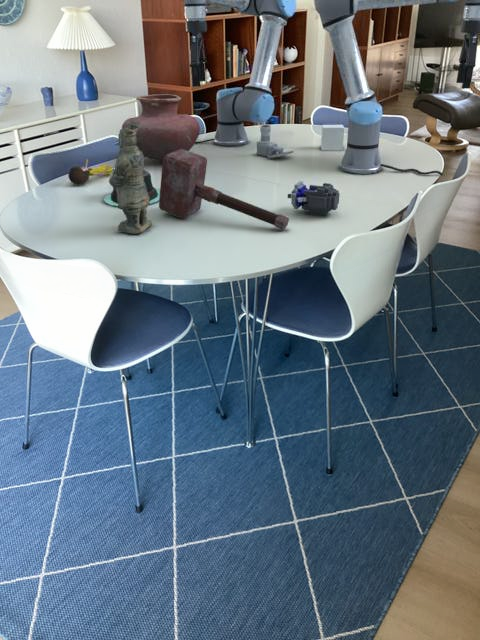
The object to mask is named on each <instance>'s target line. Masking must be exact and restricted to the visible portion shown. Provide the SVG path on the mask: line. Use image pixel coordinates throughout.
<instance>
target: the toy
mask: <svg viewBox="0 0 480 640" xmlns="http://www.w3.org/2000/svg"><path fill="white" fill-rule="evenodd" d="M293 187H294V188H293V189H292V191H291V193H288V194H287V199H291V200H290V201H291V202H290V203H291V206H292V207H293V210H298V209H299V208H301V210H303V211H306V212H307V214H310V215H311V214H312V215H318V216H326V215H328V213H330V212H331V211H336V210H337V209H338V205H339V204H340V194H341V193H340V190H338V189H337V188H335V187H334V184H332V183H328V182H324V183H322V185H315V184H310V185H309V186H308V187H309V188H308V187H307V185H306V184H305V183H304V181H301V180H299V181H298V182H296V183H295V184H294V186H293Z"/></svg>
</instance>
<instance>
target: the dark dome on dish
mask: <svg viewBox="0 0 480 640" xmlns="http://www.w3.org/2000/svg"><path fill="white" fill-rule="evenodd" d="M113 175H114V171H112V172H111V176H113ZM143 178H144V182H145V184H146V188H147V192H148V195H149V197H150V204H154V203H157V202H159V198H160V188H156V187H154V185H153V182H152V174H151V172H149V171H148V170H146V169H144V168H143ZM103 200H104V202H105V203H106V204H108V205H109V206H115V207H118V202H117V192H116V189H115V188H114V187H112V191H111V193H108V194H107V195H106V196H104V198H103ZM150 204H149V205H150Z"/></svg>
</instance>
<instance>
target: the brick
mask: <svg viewBox="0 0 480 640" xmlns="http://www.w3.org/2000/svg"><path fill="white" fill-rule="evenodd" d="M344 135H345V126H344V124H322V125H321V139H320V149H321V151H343V149H344Z"/></svg>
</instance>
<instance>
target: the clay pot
mask: <svg viewBox="0 0 480 640" xmlns="http://www.w3.org/2000/svg"><path fill="white" fill-rule="evenodd" d="M135 100H136V101H139V102H140V105H141V113H140V115H138V116H134V117H129V118H127V119H125V121H123V123H122V125H121V129H123V128H124V127H125V126H126V125H127V124H128V123H131V122H133V121H137V122H138V123H139V127H138V130H137V131H136V138H137V143H136V146H137V147H138V149H139V150H141V151H142V153H143V156H144V159H148V160H151V161H155V162H161V163H163V158H164V156H165V155H167V154H170V153H172V152H174V151H177V150H179V149H184V150H187V151H190V150H192V149H193V147H194V145H196V143H195V142H197V141H198V138H199V136H200V131H201V126H200V123H199V121H198V120H197V119H196V118H195V117H194V116H192V115H190V114H186V113H185V114H182V113H181V114H180V113H178V108H179V103H180V101H182V97H180V96H179V95H177V94H169V93H164V94H163V93H162V94H146V95H139V96H138V95H137V96H136V99H135Z"/></svg>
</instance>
